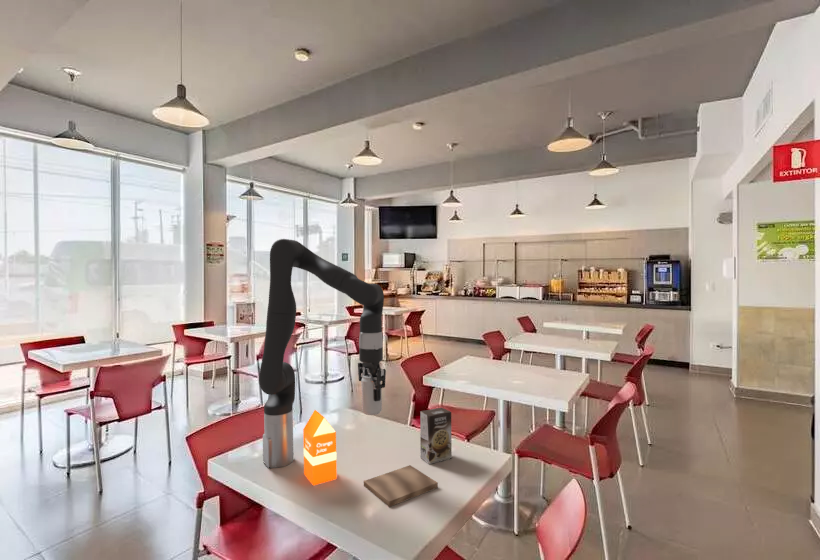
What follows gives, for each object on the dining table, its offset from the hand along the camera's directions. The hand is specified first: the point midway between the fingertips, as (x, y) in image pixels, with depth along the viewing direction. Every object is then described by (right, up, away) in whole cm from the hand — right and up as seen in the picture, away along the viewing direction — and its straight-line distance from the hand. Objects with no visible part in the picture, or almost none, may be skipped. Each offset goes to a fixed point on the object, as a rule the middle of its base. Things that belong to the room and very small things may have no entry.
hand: (371, 397), depth 133 cm
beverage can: (0, -5, 0) cm, 5 cm away
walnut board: (+9, -24, -10) cm, 27 cm away
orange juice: (-16, -24, -3) cm, 29 cm away
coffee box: (+21, -23, +9) cm, 33 cm away
